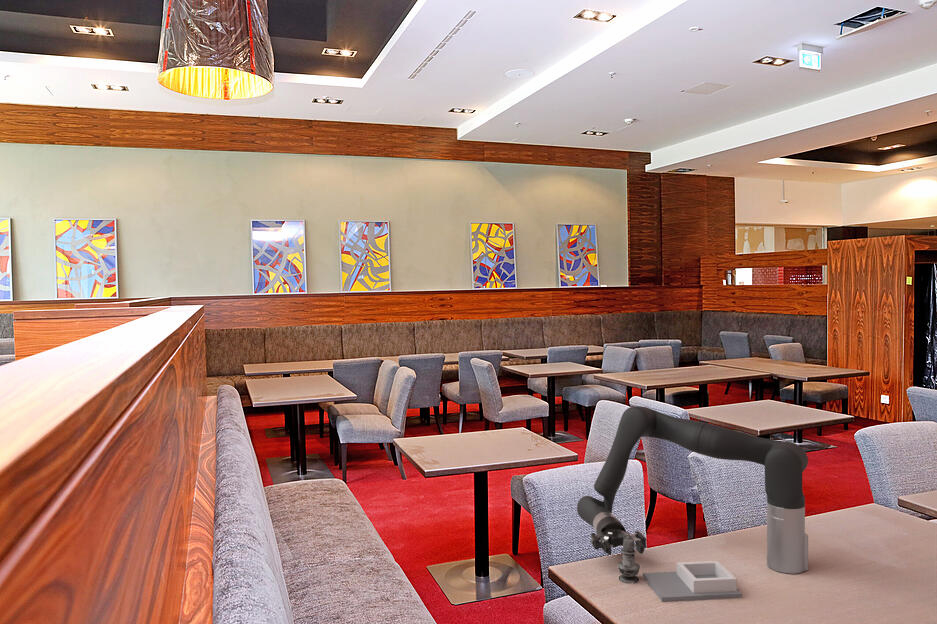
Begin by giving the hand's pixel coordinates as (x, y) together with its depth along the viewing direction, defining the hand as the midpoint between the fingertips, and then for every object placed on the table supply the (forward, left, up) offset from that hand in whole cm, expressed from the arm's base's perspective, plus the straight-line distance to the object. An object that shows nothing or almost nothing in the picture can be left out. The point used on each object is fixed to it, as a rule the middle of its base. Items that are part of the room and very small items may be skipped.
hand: (625, 550), depth 178 cm
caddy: (-14, +9, -6) cm, 18 cm away
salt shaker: (0, +3, -7) cm, 7 cm away
